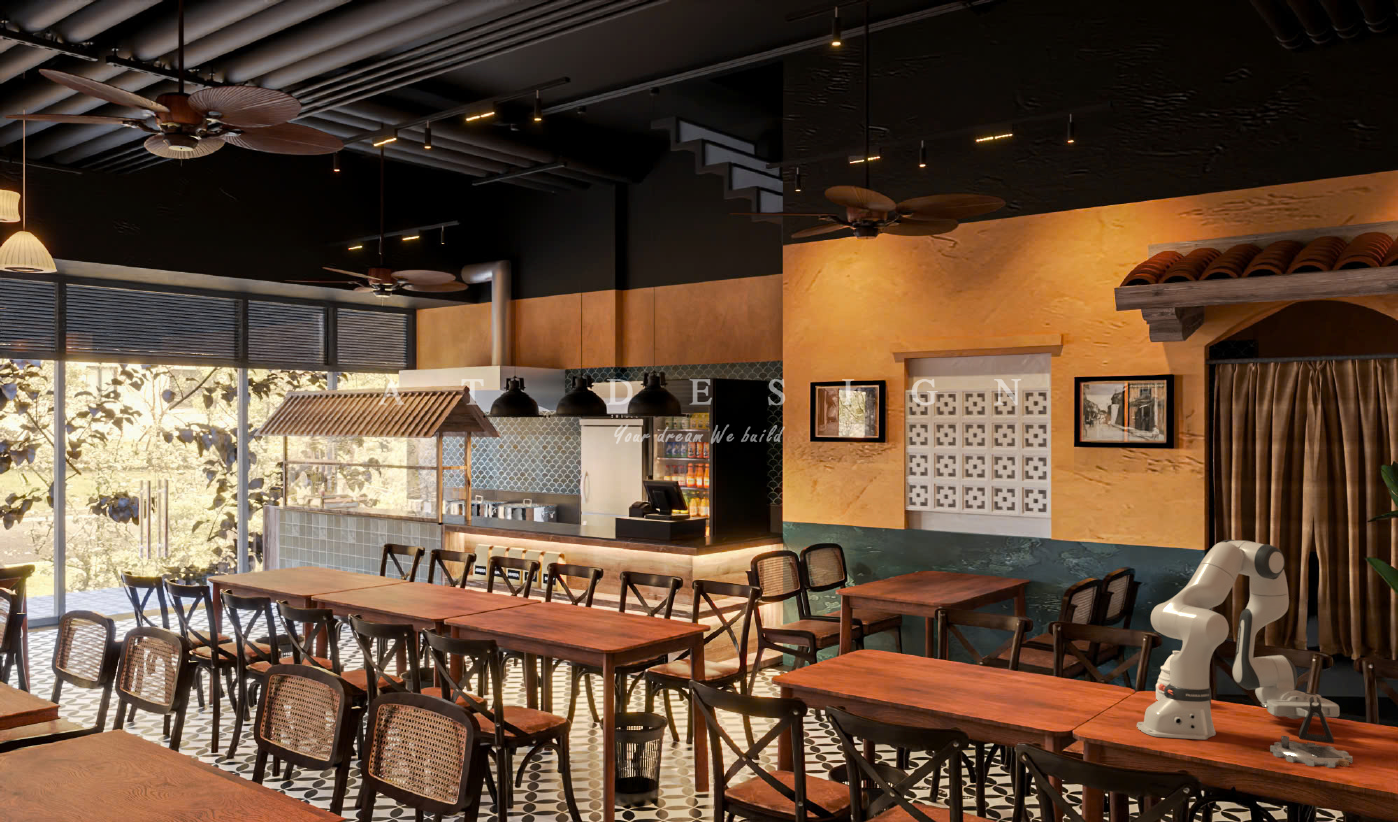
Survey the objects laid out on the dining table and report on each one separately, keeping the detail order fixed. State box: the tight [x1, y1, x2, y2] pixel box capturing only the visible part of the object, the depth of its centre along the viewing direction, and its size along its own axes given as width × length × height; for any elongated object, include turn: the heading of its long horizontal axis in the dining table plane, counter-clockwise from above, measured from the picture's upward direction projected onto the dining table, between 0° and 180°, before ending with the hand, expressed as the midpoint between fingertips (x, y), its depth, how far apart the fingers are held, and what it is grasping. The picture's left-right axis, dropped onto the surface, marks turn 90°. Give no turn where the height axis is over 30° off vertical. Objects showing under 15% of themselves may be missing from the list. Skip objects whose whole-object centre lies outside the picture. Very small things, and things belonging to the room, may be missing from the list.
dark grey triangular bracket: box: [1298, 697, 1335, 744], centre depth 310 cm, size 9×6×12 cm, turn 61°
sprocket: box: [1269, 735, 1354, 768], centre depth 292 cm, size 20×20×4 cm
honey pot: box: [1155, 650, 1181, 700], centre depth 355 cm, size 13×13×18 cm
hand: (1316, 715), depth 311 cm, fingers closed on dark grey triangular bracket, 2 cm apart
